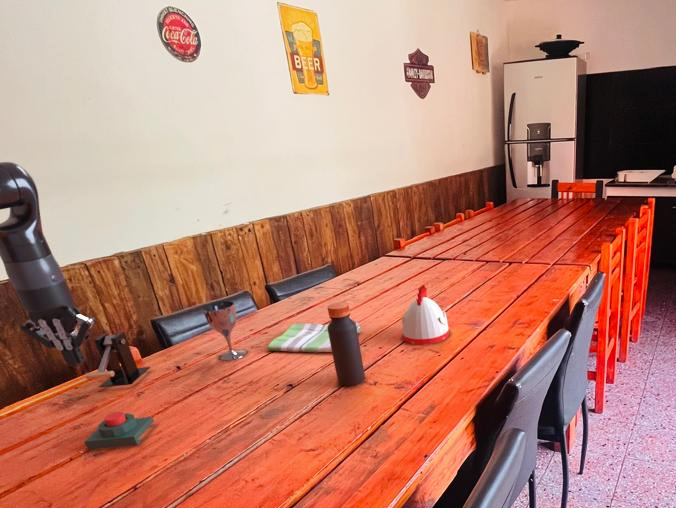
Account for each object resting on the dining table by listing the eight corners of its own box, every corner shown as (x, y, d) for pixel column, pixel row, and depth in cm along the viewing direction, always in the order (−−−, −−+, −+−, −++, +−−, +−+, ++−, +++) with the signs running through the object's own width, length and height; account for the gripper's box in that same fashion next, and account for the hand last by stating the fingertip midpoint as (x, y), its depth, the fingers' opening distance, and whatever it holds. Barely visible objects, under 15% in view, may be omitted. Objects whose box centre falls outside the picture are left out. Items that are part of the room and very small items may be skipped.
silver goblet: (252, 353, 148) (238, 304, 141) (224, 363, 143) (209, 312, 136) (240, 347, 153) (226, 299, 146) (213, 356, 148) (198, 307, 141)
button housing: (87, 450, 106) (80, 434, 105) (108, 429, 113) (102, 414, 112) (137, 445, 107) (131, 429, 105) (155, 425, 114) (149, 409, 112)
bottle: (351, 372, 133) (337, 299, 124) (371, 377, 130) (358, 302, 121) (332, 383, 128) (316, 308, 119) (352, 389, 125) (338, 312, 116)
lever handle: (114, 378, 127) (109, 373, 125) (89, 381, 126) (83, 375, 124) (127, 339, 133) (122, 334, 131) (103, 342, 133) (98, 336, 131)
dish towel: (340, 354, 144) (338, 342, 143) (266, 352, 148) (263, 341, 147) (363, 331, 159) (361, 320, 158) (295, 330, 163) (292, 319, 162)
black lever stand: (133, 387, 132) (114, 342, 126) (100, 390, 131) (80, 345, 126) (151, 370, 141) (135, 327, 135) (121, 373, 140) (103, 330, 135)
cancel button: (103, 428, 107) (100, 421, 106) (112, 419, 110) (109, 412, 109) (121, 426, 107) (118, 419, 106) (129, 417, 110) (127, 410, 110)
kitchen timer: (453, 327, 158) (449, 280, 152) (442, 345, 146) (438, 294, 140) (410, 326, 161) (404, 280, 154) (396, 344, 149) (389, 294, 142)
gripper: (89, 273, 97) (122, 354, 105) (15, 276, 96) (54, 357, 104) (63, 286, 90) (101, 372, 98) (-16, 290, 89) (29, 375, 98)
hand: (77, 364), depth 101 cm, fingers closed
